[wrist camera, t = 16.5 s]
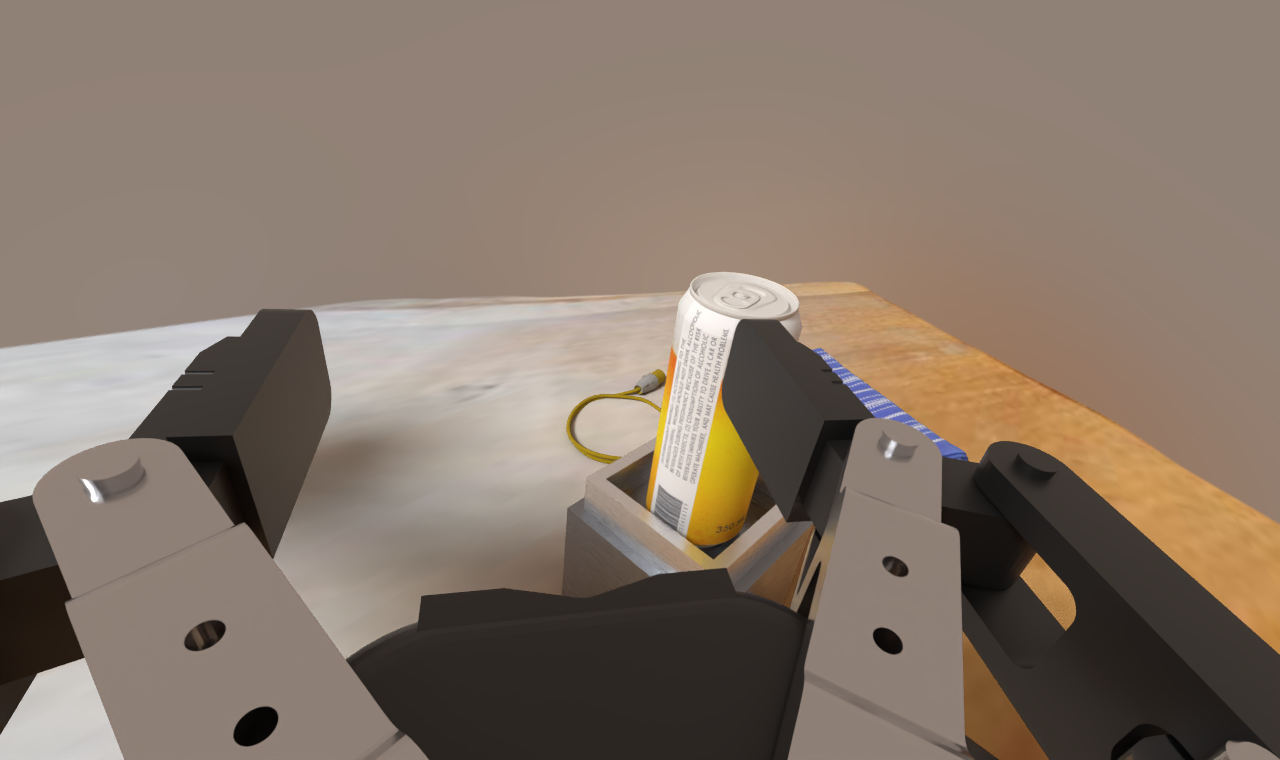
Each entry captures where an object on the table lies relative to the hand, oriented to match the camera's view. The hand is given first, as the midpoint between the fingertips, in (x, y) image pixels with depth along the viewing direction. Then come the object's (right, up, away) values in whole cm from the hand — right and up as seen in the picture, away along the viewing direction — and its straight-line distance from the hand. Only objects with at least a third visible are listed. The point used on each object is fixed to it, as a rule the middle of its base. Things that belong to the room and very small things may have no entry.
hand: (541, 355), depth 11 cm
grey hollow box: (+6, -16, +27) cm, 32 cm away
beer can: (+5, -9, +24) cm, 26 cm away
